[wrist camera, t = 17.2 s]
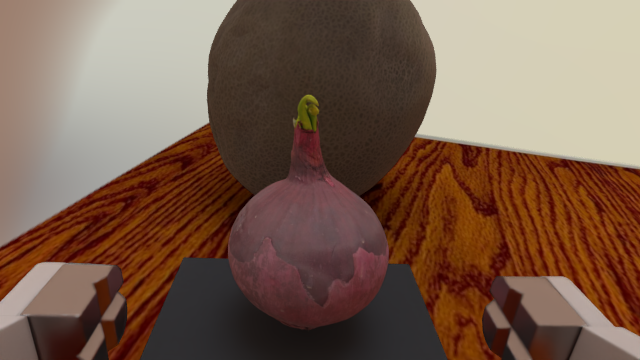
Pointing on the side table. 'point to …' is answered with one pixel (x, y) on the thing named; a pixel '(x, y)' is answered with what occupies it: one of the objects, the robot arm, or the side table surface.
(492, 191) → the side table surface
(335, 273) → the vegetable
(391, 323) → the mat
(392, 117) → the coconut
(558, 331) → the robot arm
